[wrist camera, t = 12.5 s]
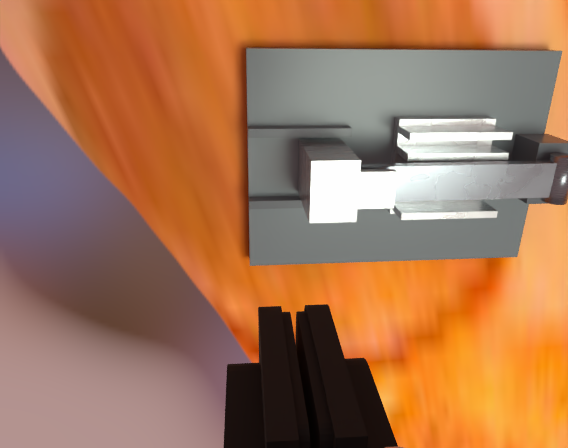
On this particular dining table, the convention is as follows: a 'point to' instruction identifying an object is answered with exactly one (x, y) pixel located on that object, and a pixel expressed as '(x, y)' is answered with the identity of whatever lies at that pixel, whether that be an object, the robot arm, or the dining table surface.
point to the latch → (340, 182)
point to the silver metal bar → (481, 180)
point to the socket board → (385, 143)
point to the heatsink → (446, 158)
